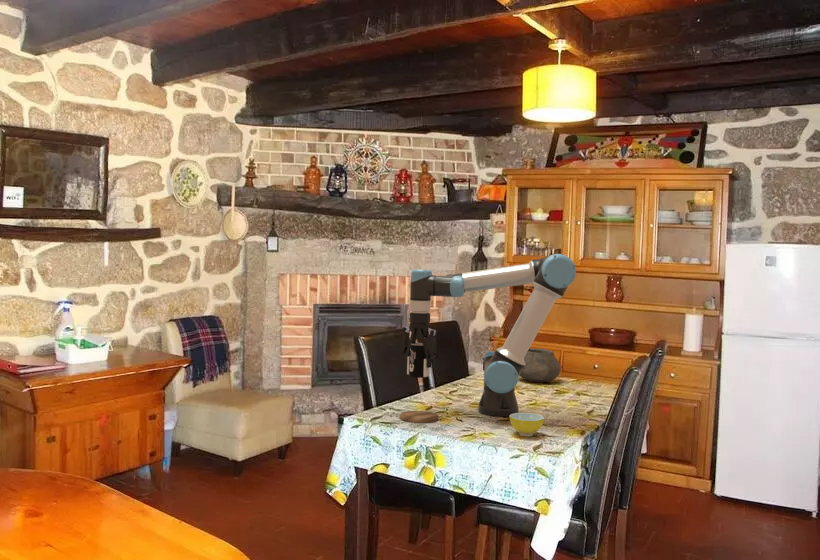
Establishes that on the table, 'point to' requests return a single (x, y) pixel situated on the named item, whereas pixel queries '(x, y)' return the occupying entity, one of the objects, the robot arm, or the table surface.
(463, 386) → the table surface
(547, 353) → the clay pot
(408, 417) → the disc
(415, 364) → the beverage can
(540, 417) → the bowl
